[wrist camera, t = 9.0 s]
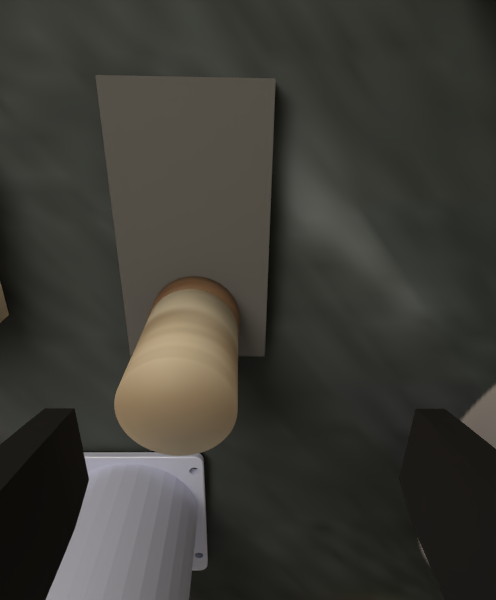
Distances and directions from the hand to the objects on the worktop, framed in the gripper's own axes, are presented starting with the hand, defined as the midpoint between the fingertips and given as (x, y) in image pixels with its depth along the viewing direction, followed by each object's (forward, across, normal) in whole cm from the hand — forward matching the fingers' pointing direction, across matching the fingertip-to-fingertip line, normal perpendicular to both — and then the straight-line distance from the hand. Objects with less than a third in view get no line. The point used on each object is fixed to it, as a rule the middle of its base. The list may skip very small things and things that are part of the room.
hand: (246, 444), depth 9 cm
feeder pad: (+10, +2, -2) cm, 10 cm away
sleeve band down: (+9, +2, +2) cm, 9 cm away
